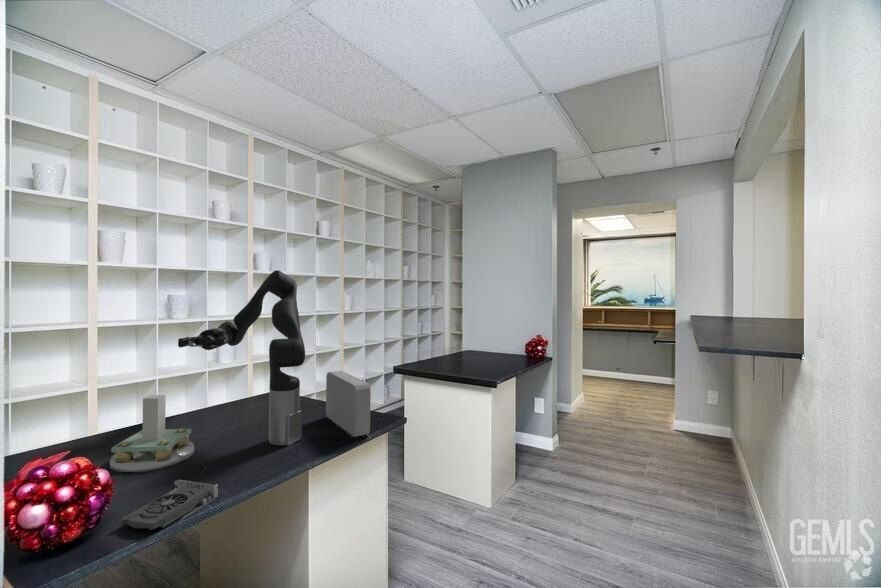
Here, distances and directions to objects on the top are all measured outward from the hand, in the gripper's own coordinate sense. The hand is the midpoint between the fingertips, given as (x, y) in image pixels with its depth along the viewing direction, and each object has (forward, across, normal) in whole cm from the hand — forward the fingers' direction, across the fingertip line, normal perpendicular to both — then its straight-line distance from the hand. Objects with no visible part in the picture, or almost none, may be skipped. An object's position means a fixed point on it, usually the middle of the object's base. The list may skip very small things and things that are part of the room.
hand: (193, 344), depth 139 cm
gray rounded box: (-2, +51, +30) cm, 59 cm away
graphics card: (+51, +17, +31) cm, 62 cm away
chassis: (+20, -1, +30) cm, 36 cm away
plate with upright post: (+20, -1, +26) cm, 33 cm away
